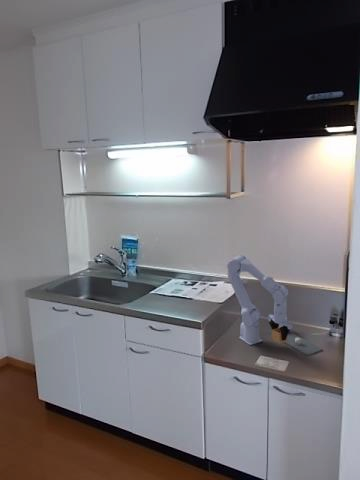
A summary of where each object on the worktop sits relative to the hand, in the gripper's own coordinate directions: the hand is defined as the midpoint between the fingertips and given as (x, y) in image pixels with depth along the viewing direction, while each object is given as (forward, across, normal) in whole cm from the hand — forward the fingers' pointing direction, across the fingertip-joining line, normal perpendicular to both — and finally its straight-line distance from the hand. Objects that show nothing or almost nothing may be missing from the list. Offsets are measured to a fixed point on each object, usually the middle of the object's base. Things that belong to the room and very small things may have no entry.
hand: (279, 337), depth 183 cm
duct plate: (+5, -3, -10) cm, 12 cm away
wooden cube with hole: (+1, 0, 0) cm, 1 cm away
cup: (+6, +15, -12) cm, 20 cm away
